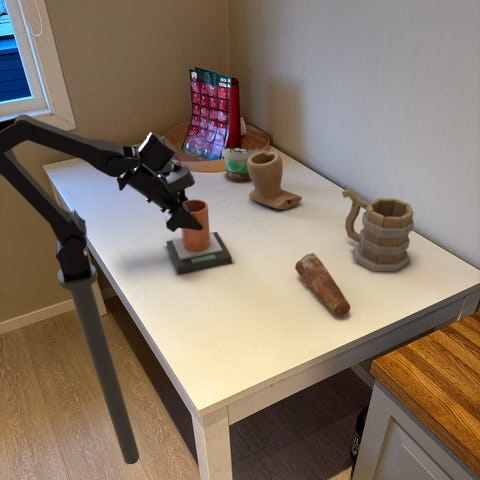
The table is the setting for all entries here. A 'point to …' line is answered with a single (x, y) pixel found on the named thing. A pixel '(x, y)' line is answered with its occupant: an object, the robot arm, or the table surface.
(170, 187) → the robot arm
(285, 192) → the clay pipe bowl
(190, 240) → the tumbler
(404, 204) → the tankard
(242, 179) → the food container
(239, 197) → the table surface
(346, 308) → the brown tapered rod
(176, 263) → the kitchen scale
